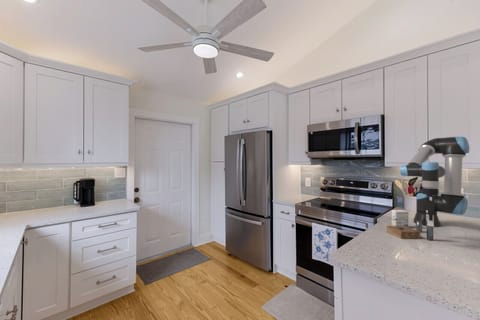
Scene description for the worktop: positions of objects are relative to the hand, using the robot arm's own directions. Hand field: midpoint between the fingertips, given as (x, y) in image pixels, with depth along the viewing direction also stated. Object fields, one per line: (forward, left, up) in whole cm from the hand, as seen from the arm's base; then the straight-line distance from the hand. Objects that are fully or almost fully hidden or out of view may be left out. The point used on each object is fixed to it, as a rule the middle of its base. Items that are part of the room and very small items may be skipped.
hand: (429, 223), depth 124 cm
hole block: (+10, -8, -10) cm, 16 cm away
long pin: (0, 0, -10) cm, 10 cm away
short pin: (-6, -14, -10) cm, 18 cm away
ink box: (-1, -24, -10) cm, 26 cm away
